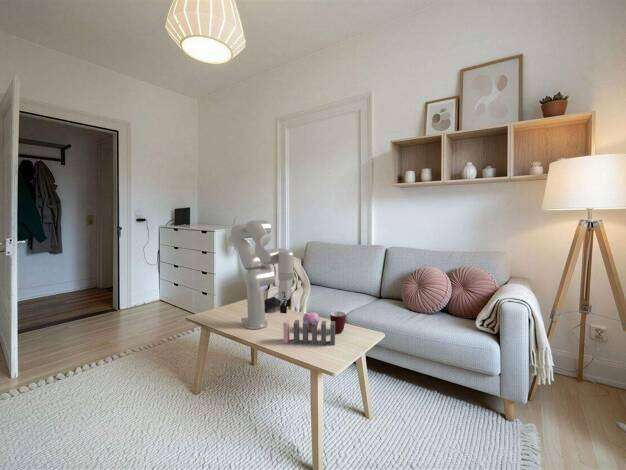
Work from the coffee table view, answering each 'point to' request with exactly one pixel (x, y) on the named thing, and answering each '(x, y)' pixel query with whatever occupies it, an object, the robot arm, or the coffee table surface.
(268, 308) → the crystal cluster
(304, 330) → the domino
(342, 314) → the mug
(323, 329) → the domino
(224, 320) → the coffee table surface
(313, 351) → the coffee table surface
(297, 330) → the domino
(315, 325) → the domino
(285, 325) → the rose domino
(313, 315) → the cupcake
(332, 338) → the domino
